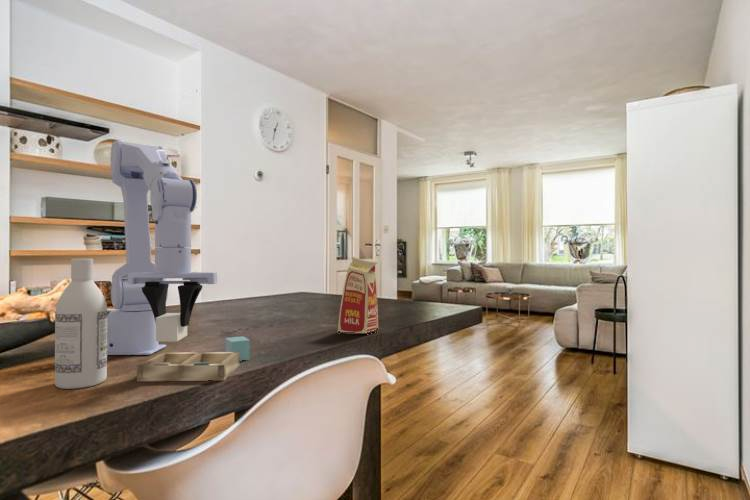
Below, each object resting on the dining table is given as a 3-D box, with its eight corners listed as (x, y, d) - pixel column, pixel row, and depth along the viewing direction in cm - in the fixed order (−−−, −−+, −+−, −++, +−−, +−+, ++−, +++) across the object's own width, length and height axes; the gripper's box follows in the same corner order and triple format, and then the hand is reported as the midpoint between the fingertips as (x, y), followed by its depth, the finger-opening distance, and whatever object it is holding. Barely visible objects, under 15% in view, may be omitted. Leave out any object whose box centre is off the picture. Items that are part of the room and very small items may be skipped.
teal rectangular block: (249, 360, 86) (249, 339, 86) (231, 362, 84) (231, 341, 84) (241, 354, 91) (241, 335, 91) (224, 356, 89) (224, 337, 89)
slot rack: (136, 381, 72) (137, 364, 72) (162, 366, 81) (162, 350, 81) (224, 380, 72) (224, 363, 72) (239, 365, 82) (239, 350, 82)
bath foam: (98, 374, 75) (98, 258, 75) (113, 382, 71) (114, 258, 71) (49, 383, 70) (49, 258, 70) (62, 393, 66) (63, 259, 66)
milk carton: (337, 333, 114) (337, 256, 114) (352, 327, 123) (352, 256, 123) (369, 335, 111) (370, 256, 111) (382, 329, 120) (383, 256, 120)
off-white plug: (177, 341, 74) (176, 317, 74) (156, 341, 74) (155, 317, 74) (189, 333, 80) (189, 311, 80) (170, 333, 80) (169, 311, 79)
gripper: (118, 247, 72) (117, 329, 72) (207, 247, 73) (207, 329, 73) (139, 247, 79) (138, 322, 79) (220, 247, 80) (220, 322, 80)
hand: (172, 325), depth 77 cm, fingers closed on off-white plug, 3 cm apart
